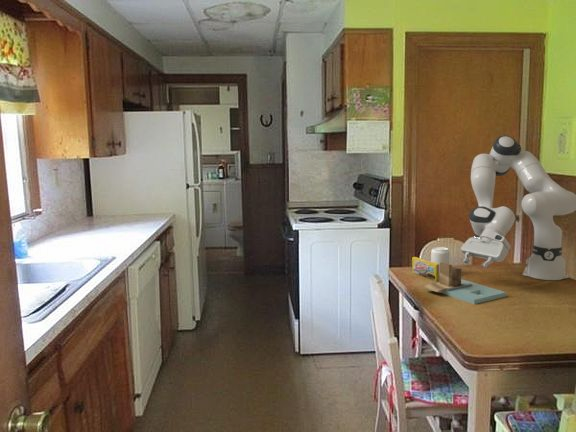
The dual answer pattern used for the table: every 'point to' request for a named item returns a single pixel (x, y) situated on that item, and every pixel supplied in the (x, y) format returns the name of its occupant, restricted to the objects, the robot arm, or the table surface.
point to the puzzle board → (473, 292)
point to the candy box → (425, 269)
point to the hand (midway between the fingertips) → (474, 264)
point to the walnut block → (456, 276)
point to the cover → (442, 279)
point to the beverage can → (440, 255)
